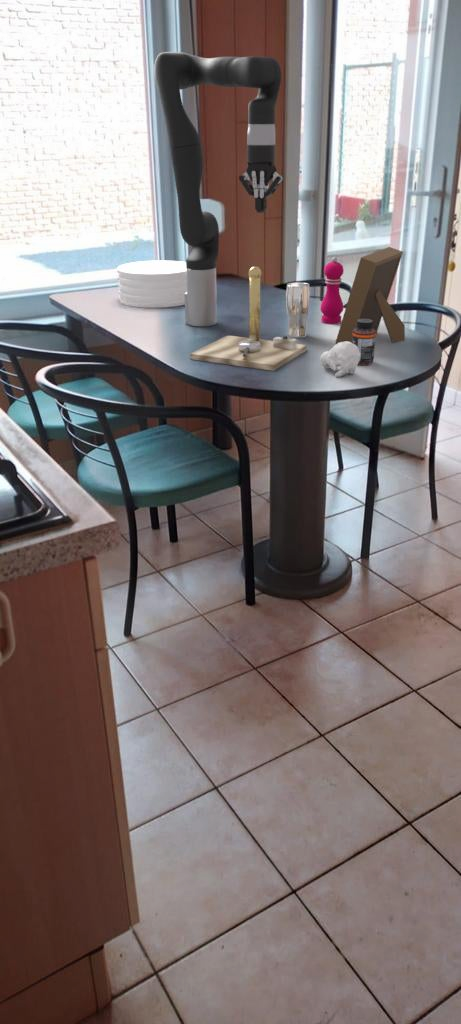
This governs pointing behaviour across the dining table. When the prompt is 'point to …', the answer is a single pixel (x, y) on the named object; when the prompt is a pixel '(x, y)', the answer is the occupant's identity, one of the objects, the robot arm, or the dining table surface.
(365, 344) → the supplement bottle
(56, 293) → the dining table surface
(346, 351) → the white animal figurine
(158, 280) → the plate stack
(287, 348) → the stand
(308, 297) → the beer glass
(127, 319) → the dining table surface
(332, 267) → the pepper mill
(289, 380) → the dining table surface
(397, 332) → the photo frame
